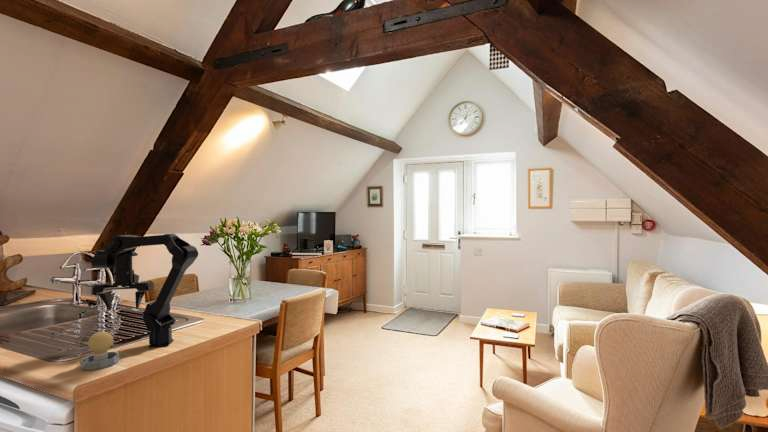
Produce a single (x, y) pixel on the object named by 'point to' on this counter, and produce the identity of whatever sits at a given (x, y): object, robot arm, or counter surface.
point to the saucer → (91, 365)
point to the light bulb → (100, 345)
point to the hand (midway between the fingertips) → (123, 309)
